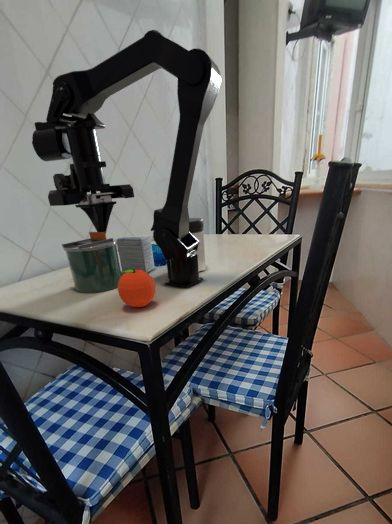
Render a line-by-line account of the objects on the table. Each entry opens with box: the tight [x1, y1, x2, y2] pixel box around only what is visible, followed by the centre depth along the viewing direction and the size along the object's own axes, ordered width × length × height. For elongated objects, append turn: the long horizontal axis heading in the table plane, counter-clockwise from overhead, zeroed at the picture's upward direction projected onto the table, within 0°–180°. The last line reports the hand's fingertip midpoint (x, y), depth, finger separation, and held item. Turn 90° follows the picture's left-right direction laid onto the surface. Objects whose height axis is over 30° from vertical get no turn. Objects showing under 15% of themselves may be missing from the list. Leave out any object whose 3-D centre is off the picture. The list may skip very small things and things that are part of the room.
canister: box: [61, 237, 123, 294], centre depth 72 cm, size 12×12×10 cm
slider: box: [75, 231, 107, 245], centre depth 70 cm, size 5×5×2 cm
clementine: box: [114, 269, 156, 308], centre depth 58 cm, size 8×7×7 cm
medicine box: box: [115, 235, 156, 273], centre depth 82 cm, size 8×4×9 cm, turn 66°
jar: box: [189, 217, 207, 273], centre depth 79 cm, size 9×8×12 cm
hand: (102, 236), depth 72 cm, fingers closed
